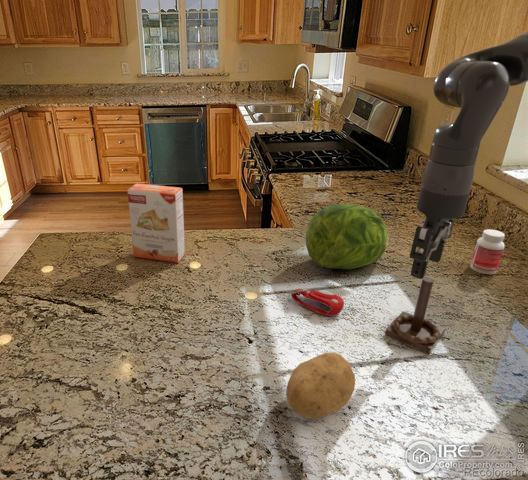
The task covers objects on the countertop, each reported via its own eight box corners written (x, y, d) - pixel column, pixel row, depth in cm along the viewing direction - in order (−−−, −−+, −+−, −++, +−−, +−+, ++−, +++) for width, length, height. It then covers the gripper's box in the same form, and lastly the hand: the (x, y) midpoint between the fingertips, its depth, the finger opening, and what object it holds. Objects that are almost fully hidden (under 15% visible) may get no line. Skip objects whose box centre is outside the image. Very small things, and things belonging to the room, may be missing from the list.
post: (444, 333, 90) (459, 279, 84) (429, 354, 84) (444, 297, 78) (401, 316, 96) (413, 264, 90) (384, 334, 90) (396, 280, 84)
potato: (267, 409, 72) (270, 373, 69) (317, 370, 81) (322, 336, 77) (315, 446, 66) (320, 409, 62) (364, 400, 74) (371, 364, 70)
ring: (445, 330, 89) (446, 326, 88) (429, 351, 83) (431, 346, 82) (402, 313, 94) (403, 309, 94) (385, 331, 89) (386, 326, 88)
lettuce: (420, 243, 110) (384, 188, 119) (358, 250, 98) (323, 187, 107) (372, 277, 124) (343, 225, 132) (313, 286, 112) (285, 228, 120)
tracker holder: (332, 287, 105) (355, 300, 95) (328, 304, 106) (351, 319, 96) (287, 283, 102) (307, 296, 92) (284, 300, 102) (303, 315, 93)
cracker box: (132, 258, 122) (125, 189, 113) (141, 248, 128) (135, 182, 118) (178, 264, 119) (174, 193, 110) (185, 254, 124) (183, 186, 115)
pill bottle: (500, 276, 111) (513, 238, 106) (475, 275, 111) (487, 237, 107) (488, 265, 116) (500, 228, 112) (465, 264, 117) (475, 227, 112)
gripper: (456, 202, 66) (433, 290, 73) (481, 181, 75) (459, 261, 82) (407, 191, 71) (390, 275, 78) (436, 173, 80) (419, 249, 87)
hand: (425, 268), depth 80 cm, fingers open, 8 cm apart
